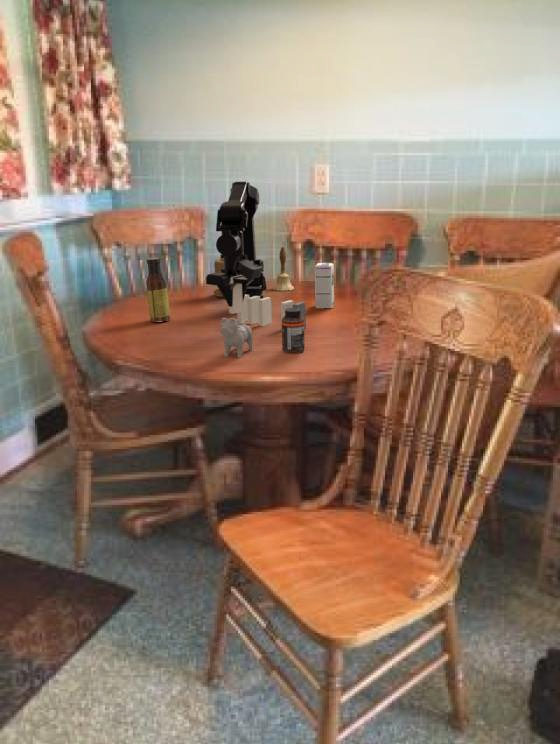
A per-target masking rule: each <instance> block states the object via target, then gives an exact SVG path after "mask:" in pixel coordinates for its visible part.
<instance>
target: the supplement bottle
mask: <svg viewBox="0 0 560 744" xmlns="http://www.w3.org/2000/svg"><path fill="white" fill-rule="evenodd" d="M300 314H301V313H300V309H299V308H287V309H285V316H284V317H283V318H282V329H281V349H282V351H283V352H284V353H285V354H291V353H294V354H301V353H302V352H304V351H305V329H304V318H303V317H301V316H300Z"/></svg>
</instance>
